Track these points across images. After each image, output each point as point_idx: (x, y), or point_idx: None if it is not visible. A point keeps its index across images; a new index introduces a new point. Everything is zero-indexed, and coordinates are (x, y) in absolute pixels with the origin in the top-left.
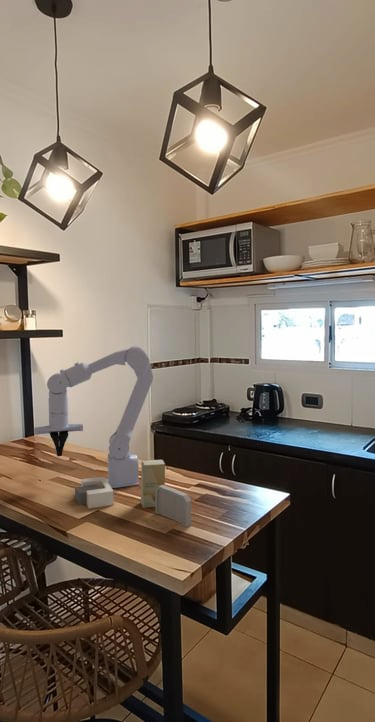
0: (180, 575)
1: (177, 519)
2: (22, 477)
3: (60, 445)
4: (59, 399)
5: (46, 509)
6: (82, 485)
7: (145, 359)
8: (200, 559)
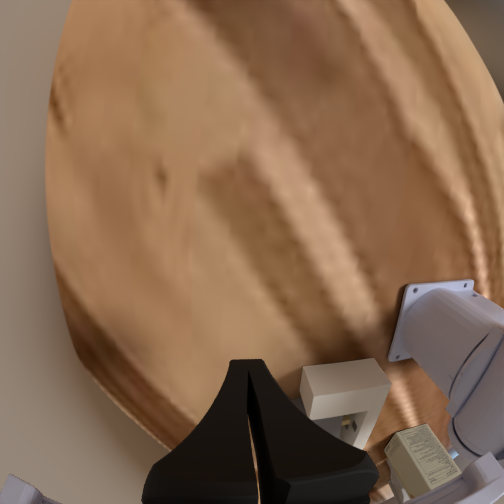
0: None
1: (391, 477)
2: (96, 116)
3: (257, 464)
4: None
5: (190, 432)
6: (306, 409)
7: None
8: None
